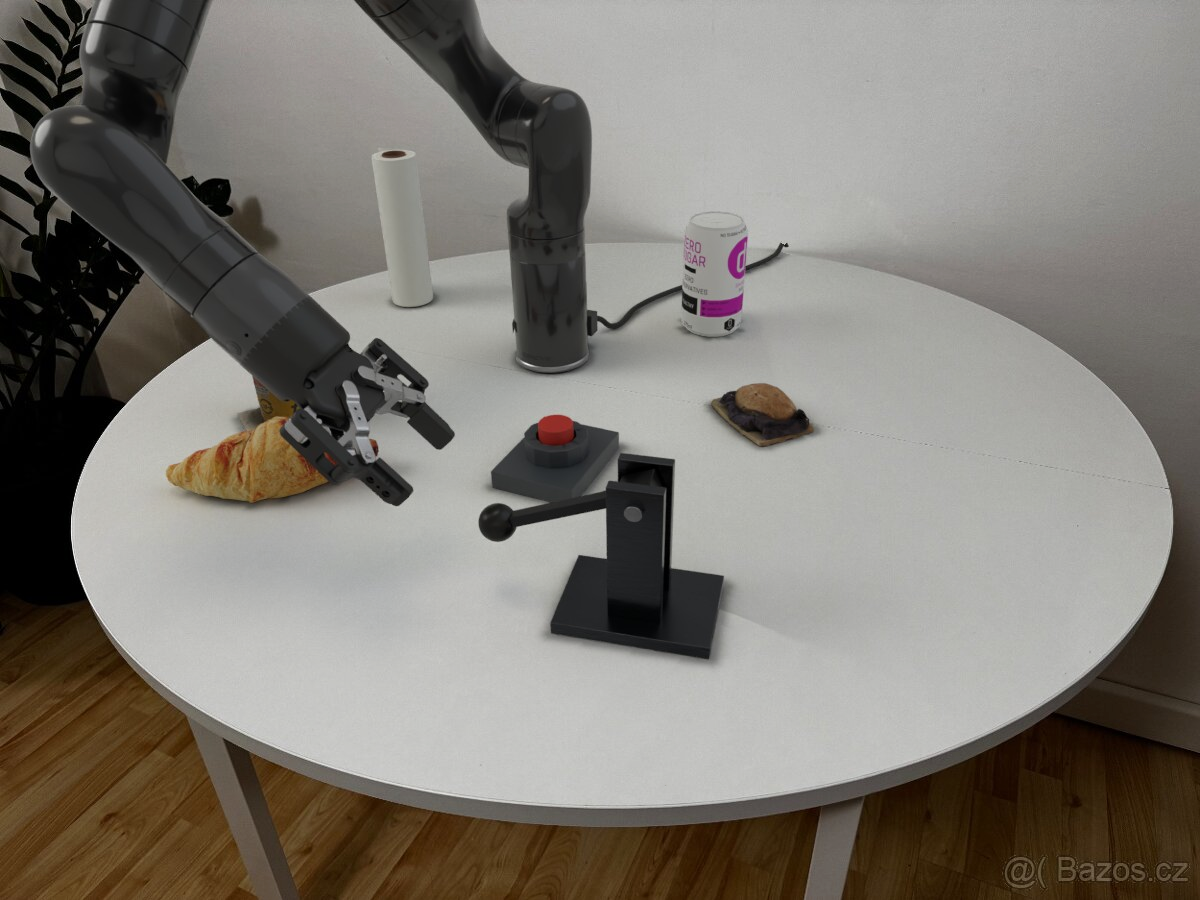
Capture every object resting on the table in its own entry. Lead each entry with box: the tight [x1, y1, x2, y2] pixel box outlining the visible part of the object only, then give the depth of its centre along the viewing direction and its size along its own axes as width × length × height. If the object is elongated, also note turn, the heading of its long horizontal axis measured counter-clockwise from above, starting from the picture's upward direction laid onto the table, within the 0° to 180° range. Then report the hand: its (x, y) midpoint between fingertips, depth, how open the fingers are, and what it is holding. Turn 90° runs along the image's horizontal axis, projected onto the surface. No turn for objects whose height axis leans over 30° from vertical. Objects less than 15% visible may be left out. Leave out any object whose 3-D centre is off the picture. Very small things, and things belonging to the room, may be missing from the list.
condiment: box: [236, 375, 299, 431], centre depth 100 cm, size 7×8×12 cm
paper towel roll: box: [371, 147, 434, 308], centre depth 128 cm, size 7×6×21 cm
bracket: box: [549, 452, 725, 660], centre depth 72 cm, size 13×9×14 cm
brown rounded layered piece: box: [710, 382, 815, 447], centre depth 101 cm, size 11×8×4 cm
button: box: [537, 414, 574, 446], centre depth 92 cm, size 4×4×2 cm
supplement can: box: [680, 210, 749, 338], centre depth 119 cm, size 8×8×15 cm
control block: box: [490, 416, 620, 503], centre depth 93 cm, size 12×9×4 cm
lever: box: [477, 469, 662, 543], centre depth 71 cm, size 16×3×3 cm, turn 76°
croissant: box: [165, 416, 380, 504], centre depth 91 cm, size 21×10×8 cm, turn 101°
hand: (428, 469), depth 73 cm, fingers open, 8 cm apart
